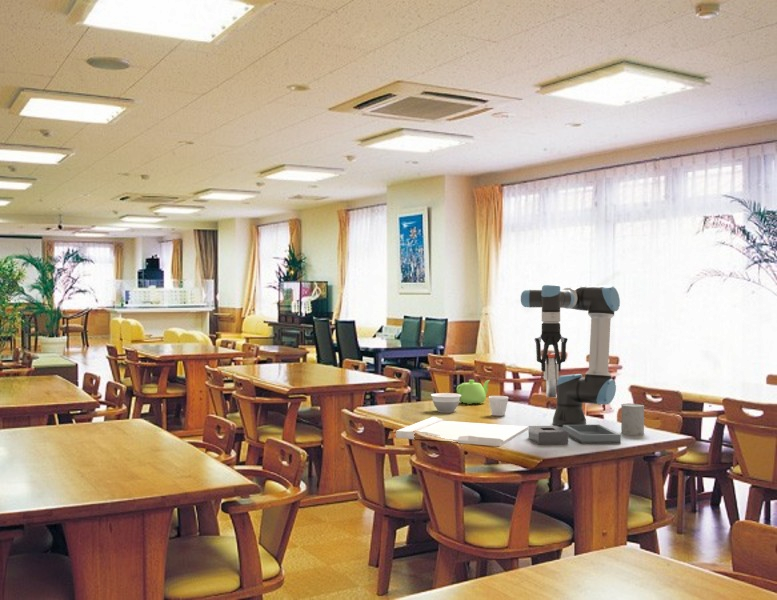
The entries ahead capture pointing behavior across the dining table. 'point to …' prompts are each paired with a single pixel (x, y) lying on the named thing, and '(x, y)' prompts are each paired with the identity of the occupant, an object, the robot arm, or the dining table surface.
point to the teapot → (472, 392)
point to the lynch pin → (551, 375)
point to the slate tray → (592, 434)
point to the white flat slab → (463, 431)
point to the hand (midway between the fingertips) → (551, 379)
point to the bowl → (446, 401)
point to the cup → (498, 405)
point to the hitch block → (548, 435)
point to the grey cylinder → (632, 419)
